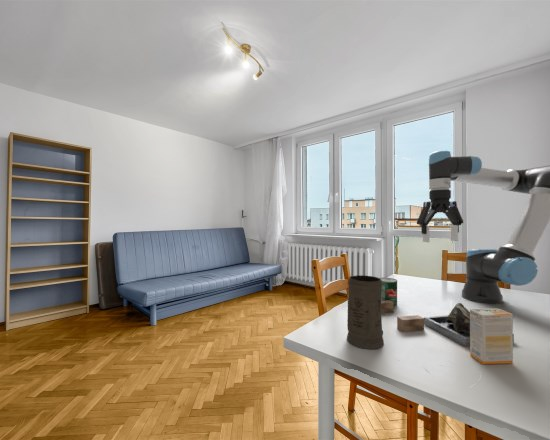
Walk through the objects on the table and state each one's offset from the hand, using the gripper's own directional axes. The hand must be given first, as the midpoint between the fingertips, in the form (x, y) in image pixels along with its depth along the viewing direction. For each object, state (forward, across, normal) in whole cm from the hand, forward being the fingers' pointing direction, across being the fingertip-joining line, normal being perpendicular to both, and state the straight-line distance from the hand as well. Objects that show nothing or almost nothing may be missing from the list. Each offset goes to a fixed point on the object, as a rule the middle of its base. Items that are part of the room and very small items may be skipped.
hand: (440, 241), depth 110 cm
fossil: (+27, -10, -21) cm, 36 cm away
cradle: (+28, -26, -6) cm, 38 cm away
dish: (+28, -10, -20) cm, 36 cm away
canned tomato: (+28, -18, +10) cm, 35 cm away
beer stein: (+28, -44, -17) cm, 55 cm away
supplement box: (+28, -18, -36) cm, 49 cm away
